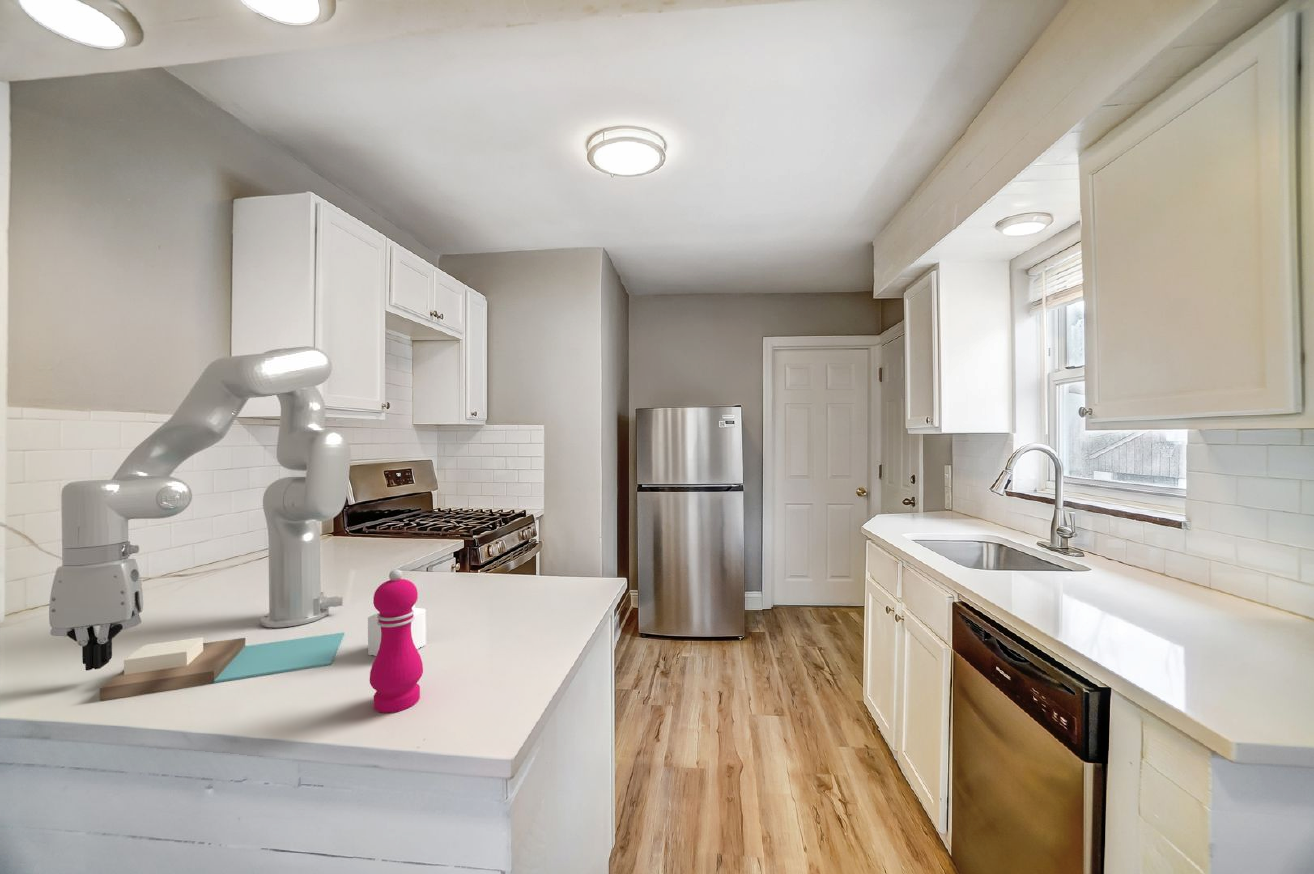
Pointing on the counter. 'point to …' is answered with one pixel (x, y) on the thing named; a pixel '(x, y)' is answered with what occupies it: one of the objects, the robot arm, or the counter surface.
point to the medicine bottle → (416, 631)
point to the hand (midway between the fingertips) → (97, 666)
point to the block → (163, 656)
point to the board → (176, 672)
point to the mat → (282, 657)
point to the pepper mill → (396, 647)
